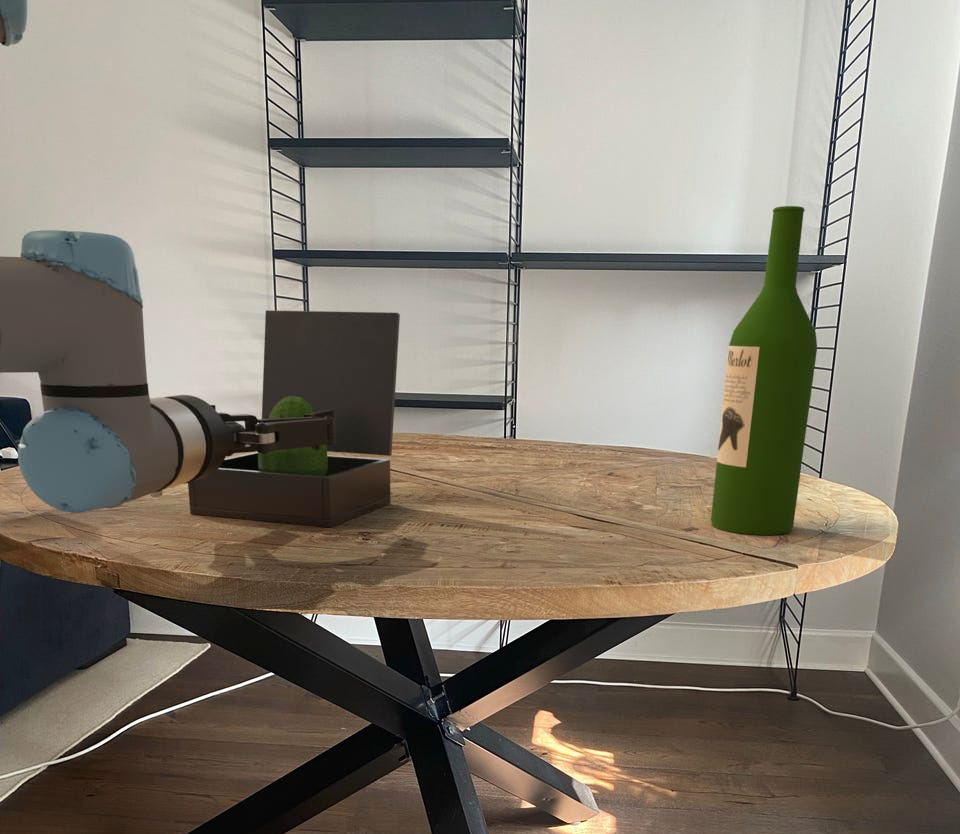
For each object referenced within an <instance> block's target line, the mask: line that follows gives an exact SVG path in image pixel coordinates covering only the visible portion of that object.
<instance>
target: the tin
mask: <svg viewBox="0 0 960 834" xmlns="http://www.w3.org/2000/svg"><path fill="white" fill-rule="evenodd" d="M327 459H328V468H327V473H326V477H325V476H315V475H302V474H289V473H276V472H264V471H260V470H259V468H258V452H257V451H256V452H248V453H244V454H240V455H235V456H229V457H225V459H224V461H223V463H222V465H221V466H220V467H219V469H218V470H217V471H216V472H214V473H213V474H212V475H210V476H208V477H206V478H203V479H200V480H196V481H193V482H190V483H187V489H188V500H189V512H190V513H189V514H190V515H196V516H197V515H198V516H206V517H207V516H208V517H218V518H227V519H237V520H248V521H249V520H250V521H258V522H259V521H260V522H269V523H279V524H288V525H289V524H290V525H300V526H309V527H310V526H311V527H319V528H320V527H321V528H328V529H329V528H333V527H336V526H338V525H340V524H343V523H346V522H348V521H351V520H353V519H355V518H358V517H360V516H363V515H365V514H368V513H371V512H373V511H375V510H377V509H380V508H382V507H385V506H387V505H390V504H391V503H392V501H391V500H392V499H391V498H392V497H391V459H386V458H373V457H372V458H371V457H358V456H357V457H356V456H342V455H330V454H327Z"/></svg>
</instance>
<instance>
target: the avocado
mask: <svg viewBox="0 0 960 834" xmlns="http://www.w3.org/2000/svg"><path fill="white" fill-rule="evenodd" d="M309 413H314V412H313V409H312V407H311V406H310V405H309V404H308V403H307V402H306V401H305V400H304V399H303V398H300V397H295V396H289V397H286V398H283V399H282V400H281V401H280V402H279V403H277V405H276V406H275V407H274V408H273V410H272V412H271V414H270V416H269V418H268V419H272V418H294V417H304V415H305V414H309ZM327 455H328V451H327V447H326V445H321V450H315V449H312V446H309V447H300V448H291V449H282V450H276V451H271V452H267V453H264V454H263V453H259V452H258V468H259V470H260V471H264V472H276V473H289V474H302V475H315V476H325V477H326V473H327V468H328V459H327Z"/></svg>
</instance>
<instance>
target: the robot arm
mask: <svg viewBox="0 0 960 834" xmlns="http://www.w3.org/2000/svg"><path fill="white" fill-rule="evenodd" d="M27 23H28V0H0V44H1V45H2V46H4V47H9V46H12V45H18V44H19V43H20V42H21V41H22V40H23V35H24V33H26V28H27ZM20 250H21V251H20V256H0V374H3V373H5V374H6V373H10V374H11V373H13V374H14V373H37V375H38V378H39V381H40V384H39V386H40V395H41V401H42V402H41V403H42V408H43V412H42V413H40V414H38V415H36V416H34V417H33V418H31V420H29V422H28V423H27V424H25V427H24V428H23V430H22V435H21V438H20V441H19V444H18V446H17V462H18V467H19V470H20V472H21V475H22V477H23V480H24V481H25V483H26V484H27V486H28V487H29V489H30V490H31V491H32V493H33V494H34V495H35V496H36V497H37V498H39V500H41V501H42V502H43V503H44V504H46V505H48V506H50V507H51V508H54V509H56V510H59V511H61V512H66V513H71V514H81V513H87V512H90V511H91V512H92V511H96V510H102V509H115V508H118V506H120V507H121V506H122V505H124V504H125V503H128V502H131V501H134V500H137V499H140V498H142V497H145V496H148V495H150V496H151V497H152V498H155V499H159V498H161V497H162V496H163V491H165V490H167V489H171V488H175V487H178V486H181V485H185V484H188V483H190V482H193V481H196V480H200V479H203V478H206V477H208V476H210V475H212V474H213V473H214V472H216V471H217V470H218V469H219V467H220V466H221V465H222V463H223V461H224V459H225V458H228V457H233V455H234V454H243V453H244V454H247V453H254V452H259V453H263V454H264V453H267V452H271V451H276V450H282V449H291V448H300V447H309V446H312V449H315V450H321V445H332V444H335V418H334V410H323V411H318V412H314V413H309V414H305V415H304V417H294V418H272V419H262V418H257V416H256V415H252V414H247V413H244V414H230V413H226V412H218V411H217V410H216V404H210V403H209V402H207V401H206V400H204V399H202V398H200V397H198V396H194V395H190V394H178V395H169V396H160V397H159V396H158V397H157V396H156V397H150V391H149V382H148V375H147V373H148V372H147V360H146V345H145V344H146V343H145V329H144V328H145V327H144V312H143V311H144V310H143V308H144V305H143V298H142V294H141V293H142V292H141V286H140V280H139V274H138V269H137V265H136V259H135V253H134V252H133V251H134V250H133V248H132V247H131V246H130V243H128V242H127V241H126V240H124V238H121V237H119V236H116V235H114V234H108V233H102V232H89V231H75V230H74V231H73V230H72V231H71V230H69V231H68V230H59V229H57V230H56V229H55V230H52V229H51V230H50V229H46V230H44V229H43V230H32V231H29V232H27V233H25V234H24V235H23V237H22V239H21V249H20ZM239 422H244V426H243V424H240V423H239Z"/></svg>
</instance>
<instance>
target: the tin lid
mask: <svg viewBox="0 0 960 834" xmlns="http://www.w3.org/2000/svg"><path fill="white" fill-rule="evenodd" d="M400 318H401V314H400V313H399V312H387V311H386V312H383V311H382V312H380V311H332V310H331V311H328V310H327V311H325V310H324V311H323V310H321V311H320V310H316V311H315V310H265V320H264V321H265V322H264V346H263V375H262V399H261V401H262V402H261V419H268V418H269V416H270V414H271V412H272V410H273V408H274V407H275V406H276V405H277V403H279V402H280V401H281V400H282V399H283V398H286V397H289V396H295V397H300V398H303V399H304V400H305V401H306V402H307V403H308V404H309V405H310V406H311V407H312V409H313V412H318V411H323V410H334V418H335V444H332V445H326V447H327V453H328V452H329V453H344V454H357V455H358V454H360V455H371V456H372V455H373V456H386V457H388V456H389V457H392V454H393V439H394V438H393V437H394V436H393V435H394V421H395V419H394V418H395V405H396V403H395V402H396V387H397V370H398V369H397V368H398V351H399V337H400V321H401V320H400Z"/></svg>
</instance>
